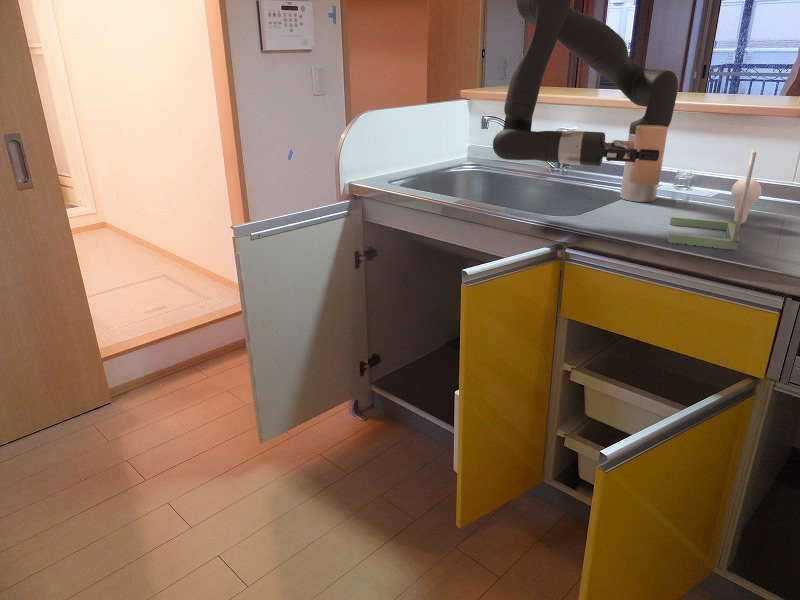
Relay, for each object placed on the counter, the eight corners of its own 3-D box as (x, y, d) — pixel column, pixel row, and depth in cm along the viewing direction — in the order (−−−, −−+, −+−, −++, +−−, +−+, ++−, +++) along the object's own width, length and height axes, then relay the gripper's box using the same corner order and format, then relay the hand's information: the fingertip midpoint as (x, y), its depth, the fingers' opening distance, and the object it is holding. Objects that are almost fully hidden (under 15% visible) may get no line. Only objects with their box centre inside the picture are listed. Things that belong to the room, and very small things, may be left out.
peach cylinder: (630, 177, 144) (637, 124, 139) (659, 180, 141) (668, 125, 137) (627, 183, 138) (635, 127, 134) (658, 186, 136) (667, 129, 131)
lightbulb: (728, 219, 152) (737, 174, 147) (756, 223, 148) (766, 177, 144) (721, 224, 147) (731, 178, 143) (750, 229, 144) (761, 181, 139)
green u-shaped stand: (670, 223, 149) (684, 137, 141) (733, 229, 144) (752, 141, 136) (667, 242, 134) (683, 148, 127) (737, 250, 129) (758, 153, 122)
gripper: (578, 135, 135) (660, 140, 129) (587, 127, 147) (663, 131, 141) (574, 170, 138) (655, 176, 132) (584, 159, 150) (658, 164, 144)
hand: (659, 152), depth 136 cm, fingers closed on peach cylinder, 6 cm apart
